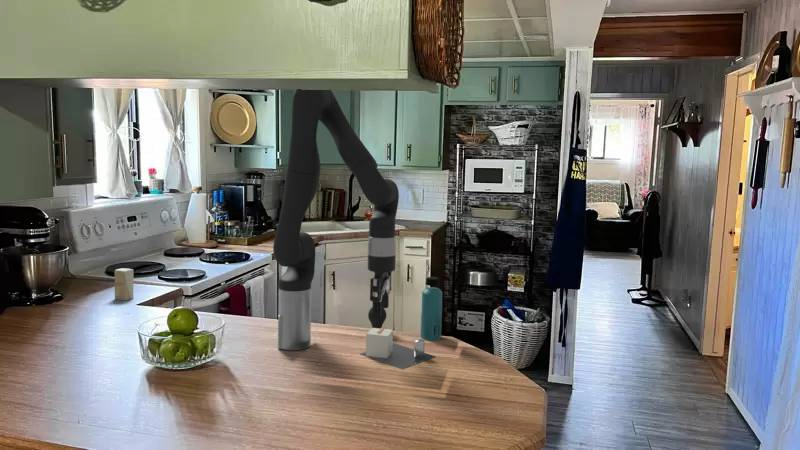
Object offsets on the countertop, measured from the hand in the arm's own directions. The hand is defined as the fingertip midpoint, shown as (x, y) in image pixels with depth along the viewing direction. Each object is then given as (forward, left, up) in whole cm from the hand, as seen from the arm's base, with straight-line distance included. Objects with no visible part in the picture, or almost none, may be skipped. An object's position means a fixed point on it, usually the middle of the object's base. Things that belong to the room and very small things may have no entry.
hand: (380, 311), depth 164 cm
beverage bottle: (+17, +13, -14) cm, 26 cm away
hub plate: (+5, -2, -14) cm, 14 cm away
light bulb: (+2, +19, -14) cm, 24 cm away
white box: (0, 0, -12) cm, 12 cm away
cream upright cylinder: (-85, +72, -14) cm, 112 cm away
